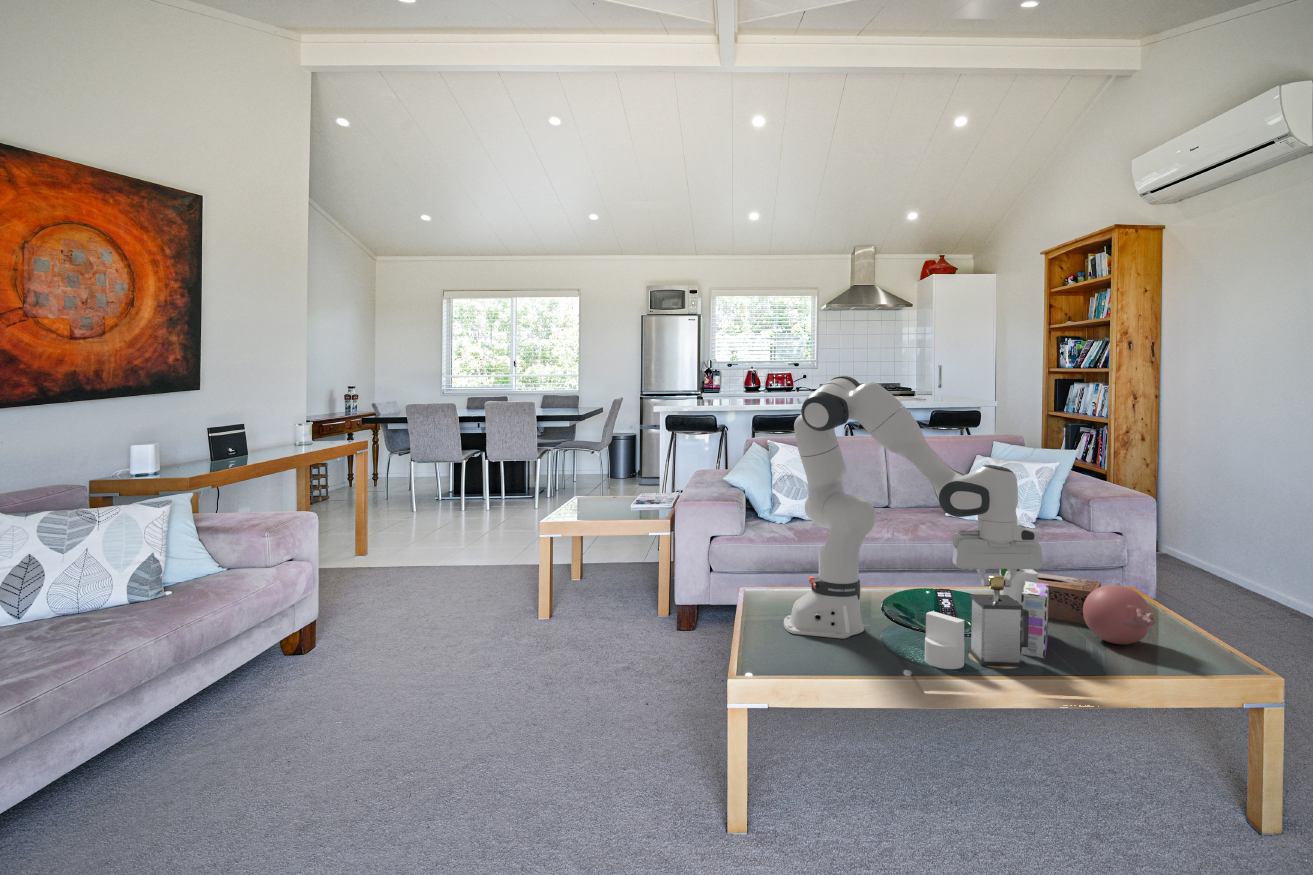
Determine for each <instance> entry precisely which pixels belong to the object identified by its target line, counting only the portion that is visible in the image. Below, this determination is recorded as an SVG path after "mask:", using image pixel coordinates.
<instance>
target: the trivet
mask: <svg viewBox="0 0 1313 875" xmlns="http://www.w3.org/2000/svg"><path fill="white" fill-rule="evenodd" d="M968 659H970V661H972V662H974V663H976V664H979V663H978V661H977V660H976V659H975V658H974V657H973V656H972V655H971V654H970V653H969V652H968ZM1020 661H1021V662H1022V660H1021V659H1020ZM979 665H980V664H979ZM987 667H989V668H994V669H1003V670H1004V669H1006V670H1009V669H1017V668H1018V667H1004V666H987Z"/></svg>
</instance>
